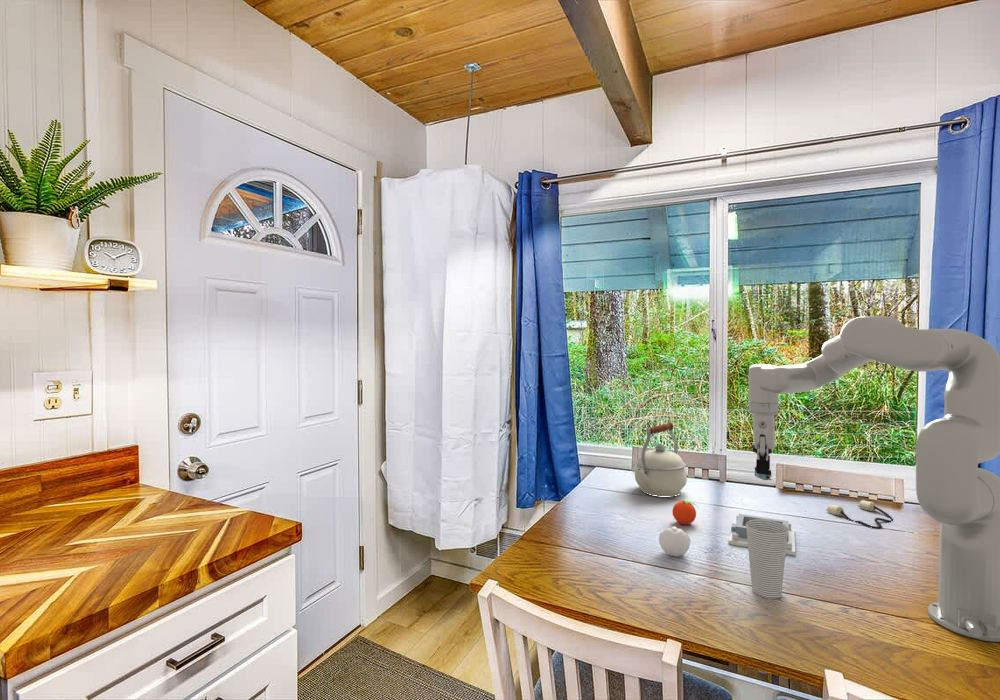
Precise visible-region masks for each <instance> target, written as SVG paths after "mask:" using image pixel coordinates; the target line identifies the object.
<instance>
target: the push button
mask: <svg viewBox="0 0 1000 700" xmlns="http://www.w3.org/2000/svg"><path fill="white" fill-rule="evenodd" d="M751 448H752V452H753V453H755V454H756V455H757V449H756V448H755V445H754V444H752V445H751ZM759 448H760V447H759ZM765 449H767V447H765ZM768 450H769V451H768V455H771V454H772V453H773V451H772V450H771V449H769V448H768ZM765 452H766V451H765ZM754 477H755V478H757V479H761V480H762V481H773V479H771V478H773V476H772V470H771V469H769V475H765V474H757V473H756V466H754Z"/></svg>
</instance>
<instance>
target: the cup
mask: <svg viewBox="0 0 1000 700" xmlns="http://www.w3.org/2000/svg"><path fill="white" fill-rule="evenodd" d="M746 529H747V540H748V547H747V548H748V550H747V551H748V560H749V571H750V582H751V591H753V593H754V594H755V595H756V596H759V597H762V598H763V599H769V600H776V599H779V598H781V597H782V595H783V593H782V592H783V584H784V583H783V582H784V574H785V573H784V572H785V562H786V555H787V554H786V545H787V535H788V528H787V527H786V526H785V525H784V524H781V523H779V522H776V521H772V520H767V519H751V520H749V521H747V522H746Z"/></svg>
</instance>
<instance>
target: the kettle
mask: <svg viewBox="0 0 1000 700" xmlns="http://www.w3.org/2000/svg"><path fill="white" fill-rule="evenodd" d="M673 429H674V424H673V423H672V422H667V423H663V424H658V425H655V426H653V427H647V428H646V440H645V442H644V445H643V447H642V450H641V454H640V455H639V457H638V458H637V459H636V460H635V464H636V467H635V471H634V480H635V482H636V483H637V485H638V486H639V487H640V491H641V490H642V491H643V492H645V493H648V494H651V495H657V496H675V495H678V494H680V495H681V492H682V490H683V489H684V487H686V485H687V482H688V477H687V472H686V469H685V467H686V466H687V465H686V462H684V461H683V459H682V457H681V456H680V455H679V454H678V452H679V443H678V441H677V438H676V437H675V436H674V432H673ZM666 431H669V435H670V438H671V439H672V441H673V444H674V446H673V447H674V449H673V451H670V450H667V447H665V445H663V444H662V443H659V444H657V445H655V446H654V449H649V450H647V449H648V446H649V444H650V442H651V437H652V436H651V435H653V434H659V433H663V432H666ZM642 491H641V492H642ZM643 492H642V493H643ZM678 496H679V495H678Z"/></svg>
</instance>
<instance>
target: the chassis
mask: <svg viewBox="0 0 1000 700" xmlns="http://www.w3.org/2000/svg"><path fill="white" fill-rule="evenodd" d="M733 519H734V520H733V522H732V523H731V527H730V529H731V530H730V535H729V539H728V544H729V545H733V546H739V547H745V548H748V540H747V529H746V522H747V521H749V520H751V519H767V520H772V521H776V522H779V523H781V524H784V525H785V526H786V527H787V528H788V535H787V545H786V555H788V556H789V555H790V556H796V545H795V544H796V542H795V528H794V527H792V523H790V522H789V520H783V519H778V518H777V519H775V518H769V517H763V516H756V515H751V514H750V515H749V514H743V513H738V514H737V515H736V517H735V518H733Z"/></svg>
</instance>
